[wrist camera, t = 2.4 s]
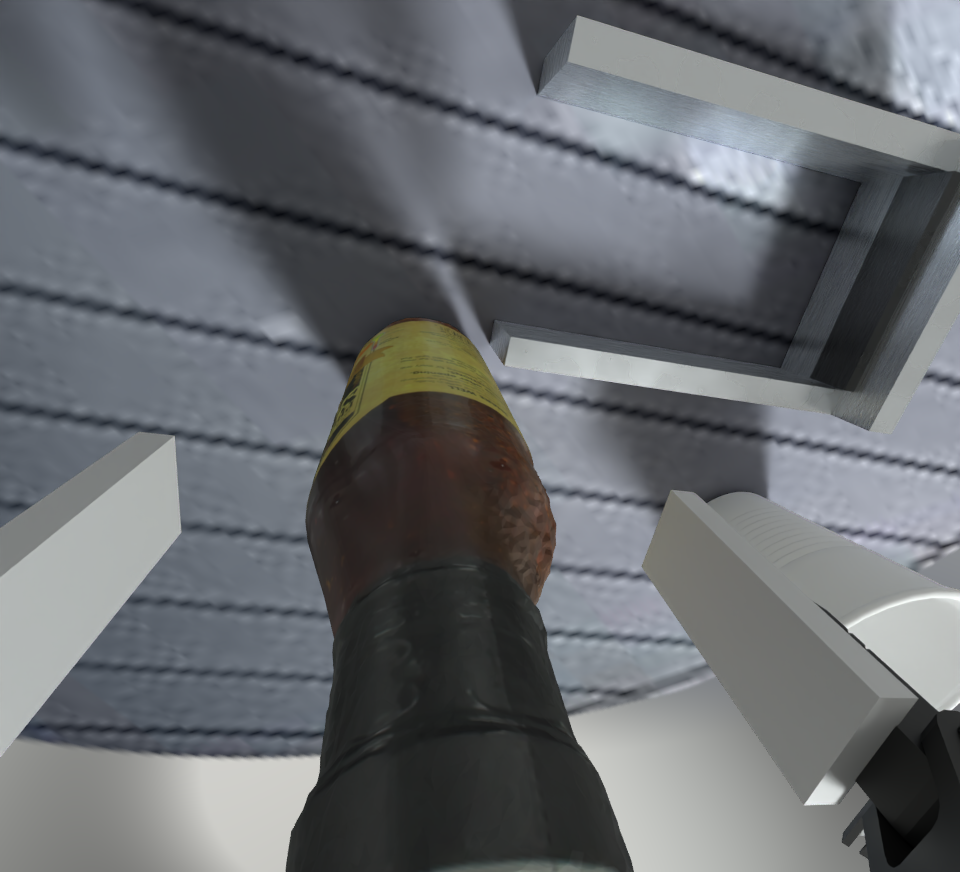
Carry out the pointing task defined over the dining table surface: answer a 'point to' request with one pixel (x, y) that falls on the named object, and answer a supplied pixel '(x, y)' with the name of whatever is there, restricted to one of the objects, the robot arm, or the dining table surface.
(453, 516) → the sauce bottle
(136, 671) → the dining table surface
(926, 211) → the frame
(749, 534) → the cup
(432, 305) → the dining table surface
